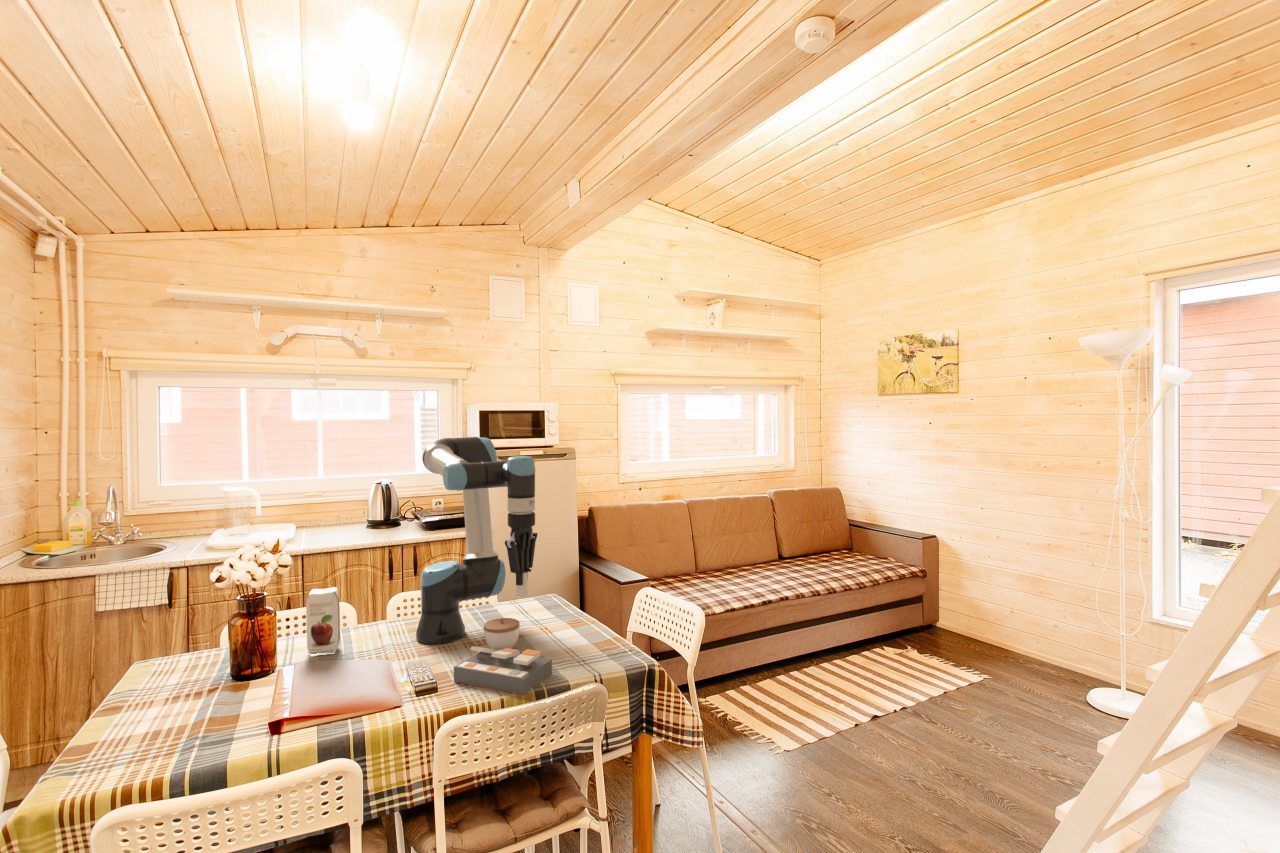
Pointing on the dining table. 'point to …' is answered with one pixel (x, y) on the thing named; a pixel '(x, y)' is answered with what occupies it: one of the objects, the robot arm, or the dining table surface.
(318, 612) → the juice carton
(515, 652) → the switch
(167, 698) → the dining table surface
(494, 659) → the switch unit
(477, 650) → the switch
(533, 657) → the switch
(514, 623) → the lidded jar
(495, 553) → the robot arm
